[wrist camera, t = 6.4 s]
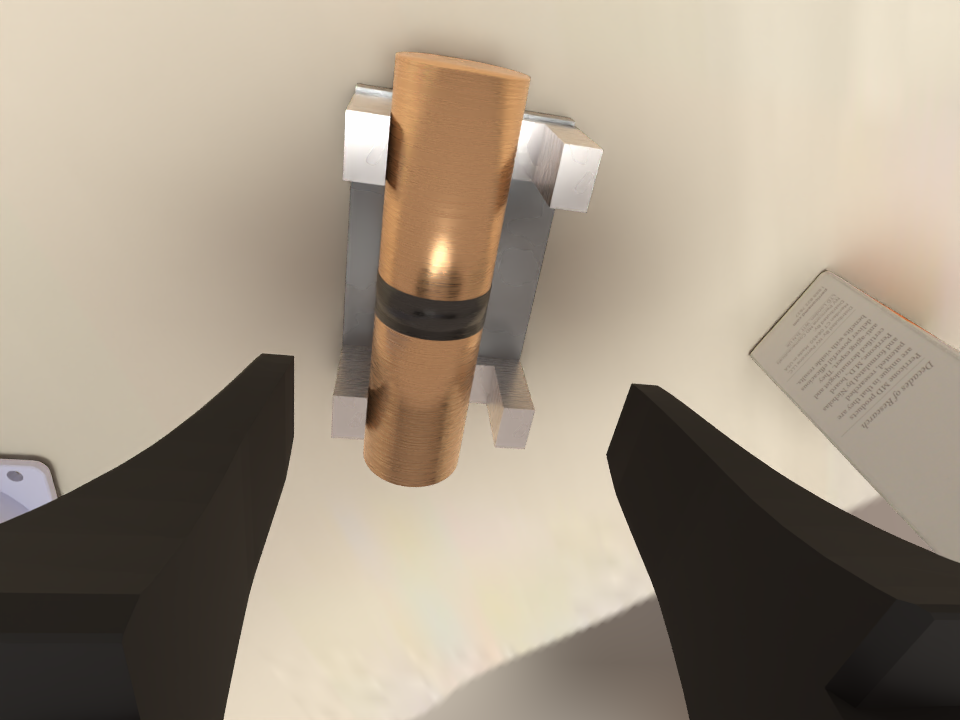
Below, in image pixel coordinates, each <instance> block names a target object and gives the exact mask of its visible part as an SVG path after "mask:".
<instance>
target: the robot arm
mask: <svg viewBox="0 0 960 720" xmlns="http://www.w3.org/2000/svg"><path fill="white" fill-rule="evenodd" d="M293 438H294V356H287V355H275V354H263V353H262V354H261V355H260V356H258V357H257V358H256V359H255V360H254V361H253V362H252V363H251V364H250V365H249V366H248V367H246V368H245V369H244V370H243V371H242V372H241V373H240V374H239V375H238V376H237V377H236V378H235V379H234V380H233V381H232V382H231V383H229V384H228V385H227V386H226V387H225V388H224V389H223V390H222V391H221V392H219V393H218V394H217V395H216V396H215V397H214V398H213V399H211V400H210V401H209V402H208V403H207V404H206V405H204V406H203V407H202V408H201V409H200V410H199V411H197V412H196V413H195V414H194V415H192V416H191V417H190V418H188V419H187V420H186V421H184V422H183V423H182V424H181V425H179V426H178V427H177V428H175V429H174V430H173V431H171V432H170V433H169V434H168V435H166V436H165V437H163V438H162V439H161V440H159V441H158V442H156V443H155V444H153V445H152V446H150V447H149V448H147V449H146V450H144V451H143V452H141V453H139V454H138V455H136V456H135V457H133V458H131V459H130V460H128V461H127V462H125V463H123V464H121V465H120V466H118V467H116V468H114V469H113V470H111V471H109V472H107V473H105V474H103V475H101V476H99V477H98V478H96V479H94V480H92V481H90V482H88V483H86V484H84V485H83V486H81V487H79V488H77V489H75V490H73V491H71V492H69V493H67V494H65V495H63V496H61V497H59V498H58V497H57V494H56V490H55V487H54V483H53V479H52V476H51V472H50V470H49V468H48V467H47V466H46V465H45V464H44V463H41V462H39V461H34V460H17V459H0V720H223V719H224V713H225V708H226V703H227V698H228V693H229V688H230V683H231V678H232V673H233V668H234V664H235V659H236V654H237V649H238V644H239V639H240V635H241V630H242V625H243V621H244V616H245V611H246V607H247V602H248V598H249V594H250V590H251V586H252V583H253V579H254V576H255V572H256V569H257V566H258V563H259V560H260V557H261V554H262V551H263V548H264V545H265V542H266V539H267V536H268V533H269V530H270V527H271V523H272V520H273V517H274V514H275V511H276V508H277V505H278V502H279V499H280V496H281V493H282V489H283V486H284V483H285V480H286V475H287V470H288V465H289V460H290V455H291V449H292V444H293ZM606 455H607V460H608V464H609V469H610V473H611V477H612V481H613V485H614V489H615V492H616V496H617V498H618V501H619V503H620V506H621V508H622V511H623V513H624V516H625V518H626V521H627V523H628V526H629V528H630V531H631V533H632V536H633V538H634V540H635V543H636V545H637V548H638V550H639V552H640V555H641V557H642V560H643V562H644V565H645V567H646V569H647V572H648V574H649V577H650V579H651V582H652V584H653V587H654V590H655V593H656V595H657V598H658V601H659V604H660V607H661V611H662V614H663V618H664V621H665V625H666V628H667V632H668V635H669V638H670V642H671V645H672V649H673V653H674V657H675V661H676V665H677V669H678V673H679V676H680V680H681V684H682V688H683V692H684V696H685V701H686V705H687V710H688V714H689V719H690V720H960V563H959V562H956V561H953V560H951V559H948V558H945V557H943V556H941V555H938V554H936V553H933V552H931V551H929V550H926V549H924V548H922V547H919V546H917V545H915V544H912V543H910V542H908V541H905V540H903V539H901V538H898V537H896V536H894V535H892V534H890V533H888V532H886V531H883V530H881V529H879V528H877V527H875V526H873V525H871V524H869V523H867V522H865V521H863V520H861V519H859V518H857V517H855V516H853V515H851V514H849V513H847V512H845V511H843V510H841V509H840V508H838V507H836V506H834V505H832V504H830V503H828V502H827V501H825V500H823V499H821V498H820V497H818V496H816V495H815V494H813V493H811V492H809V491H808V490H806V489H804V488H803V487H801V486H799V485H798V484H796V483H794V482H793V481H791V480H789V479H788V478H786V477H785V476H783V475H781V474H780V473H778V472H777V471H775V470H774V469H772V468H771V467H769V466H768V465H766V464H765V463H764V462H762V461H761V460H759V459H758V458H756V457H755V456H753V455H752V454H750V453H749V452H748V451H746V450H745V449H743V448H742V447H741V446H739V445H738V444H737V443H735V442H734V441H732V440H731V439H730V438H728V437H727V436H726V435H724V434H723V433H722V432H720V431H719V430H718V429H716V428H715V427H714V426H712V425H711V424H710V423H709V422H707V421H706V420H705V419H703V418H702V417H701V416H699V415H698V414H697V413H695V412H694V411H693V410H692V409H690V408H689V407H688V406H686V405H685V404H684V403H682V402H681V401H679V400H678V399H677V398H675V397H674V396H673V395H671V394H670V393H668V392H667V391H665V390H664V389H662V388H660V387H659V386H656V385H643V384H631V387H630V390H629V392H628V395H627V398H626V401H625V404H624V406H623V409H622V412H621V415H620V418H619V420H618V423H617V426H616V429H615V432H614V434H613V437H612V440H611V443H610V446H609V448H608V451H607V454H606ZM15 471H16V472H15ZM17 472H19V473H21V474H19V473H17Z"/></svg>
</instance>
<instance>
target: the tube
mask: <svg viewBox="0 0 960 720" xmlns="http://www.w3.org/2000/svg"><path fill="white" fill-rule="evenodd" d="M529 84H530V77H529V76H528V75H525V74H523V73H520V72H517V71H514V70H510V69H506V68H502V67H498V66H494V65H490V64H485V63H480V62H476V61H470V60H465V59H460V58H454V57H448V56H441V55H434V54H426V53H416V52H397V53H396V57H395V70H394V82H393V94H392V107H391V119H390V131H389V143H388V156H387V168H386V180H385V193H384V205H383V217H382V230H381V242H380V254H379V266H378V270H377V282H376V295H375V308H374V310H375V316H374V328H373V340H372V353H371V365H370V377H369V390H368V402H367V414H366V427H365V439H364V452H363V454H364V459H365V462H366V464H367V466H368V467H369V468H370V470H371V471H372V472H373V473H374V474H376V475H377V476H379V477H380V478H382V479H384V480H386V481H388V482H390V483H393V484H396V485H401V486H407V487H423V486H429V485H433V484H436V483H438V482H441V481H442V480H444V479H446V478H447V477H449V476H450V475H451V474H452V473H453V471H454V470H455V468H456V466H457V462H458V457H459V452H460V447H461V442H462V436H463V431H464V426H465V420H466V415H467V410H468V405H469V399H470V394H471V389H472V384H473V378H474V373H475V368H476V363H477V357H478V352H479V347H480V342H481V336H482V331H483V326H484V324H485V319H486V314H487V308H488V303H489V298H490V293H491V287H492V278H493V273H494V268H495V263H496V257H497V252H498V247H499V242H500V236H501V231H502V226H503V221H504V215H505V210H506V205H507V200H508V194H509V189H510V184H511V178H512V173H513V168H514V163H515V157H516V152H517V147H518V142H519V136H520V131H521V126H522V121H523V115H524V110H525V105H526V100H527V94H528V89H529Z"/></svg>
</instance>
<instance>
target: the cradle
mask: <svg viewBox="0 0 960 720" xmlns="http://www.w3.org/2000/svg"><path fill="white" fill-rule="evenodd" d="M392 94H393V89H388V88H382V87H376V86H370V85H364V84H358V83H357V85H356V91H355V93H354V95H353V97H352V99H351V101H350V103H349V105H348V107H347V109H346V121H345V144H344V166H343V180H346V181H351V190H350V209H349V229H348V248H347V268H346V287H345V306H344V326H343V344H342V350H341V356H340V361H339V367H338V372H337V378H336V383H335V389H334V394H333V413H332V436H331V437H332V438H349V439H364V435H365V425H366V414H367V402H368V390H369V377H370V365H371V353H372V340H373V328H374V316H375V310H374V308H375V295H376V282H377V270H378V266H379V254H380V242H381V230H382V217H383V205H384V193H385V180H386V168H387V156H388V143H389V131H390V119H391V107H392ZM574 125H575V121H573V120H572V119H571V118H567V117H560V116H554V115H548V114H542V113H536V112H530V111H524V115H523V121H522V126H521V131H520V136H519V142H518V147H517V152H516V157H515V163H514V168H513V173H512V178H511V184H510V189H509V194H508V200H507V205H506V210H505V215H504V221H503V226H502V231H501V236H500V242H499V247H498V252H497V257H496V263H495V268H494V273H493V278H492V287H491V293H490V298H489V303H488V308H487V314H486V319H485V324H484V326H483V331H482V336H481V342H480V347H479V352H478V357H477V363H476V368H475V373H474V378H473V384H472V389H471V394H470V399H469V402H471V403H485V404H487V408H488V414H489V419H490V424H491V429H492V435H493V440H494V445H495V447H499V448H516V449H525V446H526V442H527V438H528V434H529V430H530V427H531V423H532V419H533V415H534V411H535V409H534V406H533V402H532V399H531V396H530V392H529V389H528V386H527V382H526V379H525V376H524V373H523V369H522V366H521V363H520V356H521V351H522V347H523V343H524V339H525V334H526V330H527V326H528V322H529V317H530V313H531V309H532V304H533V300H534V296H535V292H536V287H537V283H538V279H539V275H540V270H541V266H542V262H543V257H544V253H545V249H546V245H547V240H548V236H549V232H550V228H551V223H552V219H553V215H554V210H555V209H562V210H569V211H577V212H584V213H587V210H588V206H589V202H590V199H591V195H592V191H593V187H594V184H595V180H596V176H597V172H598V168H599V165H600V161H601V157H602V153H603V149H602V148H601V147H600V146H598V145H597V144H596V143H595V142H594V141H592V140H591V139H590V138H589V137H587V136H586V135H585V134H584V133H583V132H581V131H580V130H579V129H578V128H577V127H575V126H574Z"/></svg>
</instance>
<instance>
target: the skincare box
mask: <svg viewBox="0 0 960 720" xmlns="http://www.w3.org/2000/svg"><path fill="white" fill-rule="evenodd" d="M750 356H751V358H752V359H753V360H754V361H755V363H756V364H757V365H758V366H759V367H760V368H761V369H762V370H763V371H764V372H765V373H766V374H767V375H768V376H769V377H770V378H771V380H772V381H773V382H774V383H775V384H776V385H777V386H778V387H779V388H780V389H781V390H782V391H783V392H784V393H785V394H786V395H787V396H788V397H789V398H790V399H791V400H792V402H793V403H794V404H795V405H796V406H797V407H798V408H799V409H800V410H801V411H802V412H803V413H804V414H805V415H806V416H807V418H808V419H809V420H810V421H811V422H812V423H813V424H814V425H815V426H816V427H817V428H818V429H819V430H820V431H821V432H822V433H823V434H824V435H825V437H826V438H827V439H828V440H829V441H830V442H831V443H832V444H833V445H834V446H835V447H836V448H837V449H838V450H839V451H840V453H841V454H842V455H843V456H844V457H845V458H846V459H847V460H848V461H849V462H850V463H851V464H852V465H853V467H854V468H855V469H856V470H857V471H858V472H859V473H860V474H861V475H862V476H863V477H864V478H865V479H866V480H867V481H868V482H869V483H870V485H871V486H872V487H873V488H874V489H875V490H876V491H877V492H878V493H879V494H880V495H881V496H882V497H883V498H884V499H885V500H886V502H887V503H888V504H889V505H890V506H891V507H892V508H893V509H894V510H895V511H896V512H897V513H898V514H899V515H900V516H901V517H902V518H903V520H904V521H905V522H906V523H907V524H908V525H909V526H910V527H911V528H912V529H913V530H914V531H915V532H916V533H917V534H918V535H919V536H920V538H921V539H922V540H923V541H924V542H925V543H926V544H927V545H928V546H929V547H930V548H931V549H932V550H933V551H934V552H935V553H936V554H938V555H941V556H943V557H945V558H948V559H951V560H953V561H956V562H959V563H960V352H959V351H958V350H956V349H955V348H953V347H951V346H950V345H948V344H946V343H945V342H943V341H941V340H940V339H938V338H937V337H935V336H934V335H932V334H930V333H929V332H927V331H926V330H924V329H923V328H921V327H919V326H918V325H916V324H914V323H913V322H911V321H909V320H908V319H906V318H905V317H903V316H901V315H900V314H898V313H896V312H895V311H893V310H892V309H890V308H888V307H887V306H885V305H883V304H882V303H880V302H878V301H877V300H875V299H873V298H872V297H870V296H869V295H867V294H866V293H864V292H862V291H861V290H859V289H858V288H856V287H854V286H853V285H851V284H850V283H848V282H846V281H845V280H843V279H842V278H840V277H839V276H837V275H835V274H834V273H832V272H830V271H825V272H823V273H821V274H820V275H819V276H818V277H817V278H816V279H815V281H814V282H813V283H812V284H811V285H810V287H809V288H808V289H807V290H806V291H805V292H804V293H803V295H802V296H801V297H800V298H799V299H798V300H797V301H796V303H795V304H794V305H793V306H792V307H791V308H790V309H789V311H788V312H787V313H786V314H785V315H784V316H783V317H782V318H781V320H780V321H779V322H778V323H777V324H776V325H775V326H774V327H773V328H772V330H771V331H770V332H769V333H768V334H767V335H766V336H765V337H764V338H763V339H762V341H761V342H760V343H759V344H758V345H757V346H756V347H755V349H754V350H753V351H752V352H751V354H750Z"/></svg>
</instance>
